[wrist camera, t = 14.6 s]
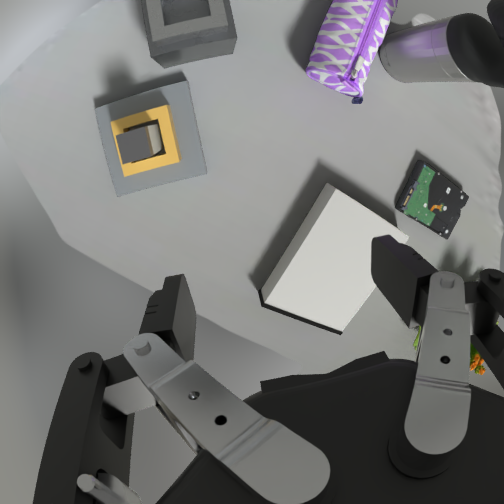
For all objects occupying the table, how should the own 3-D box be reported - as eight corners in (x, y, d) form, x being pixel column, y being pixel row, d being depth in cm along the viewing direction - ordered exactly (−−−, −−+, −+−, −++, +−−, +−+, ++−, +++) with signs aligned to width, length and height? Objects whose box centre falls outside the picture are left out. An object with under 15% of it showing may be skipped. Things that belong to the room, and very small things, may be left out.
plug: (158, 123, 39) (144, 126, 31) (163, 147, 41) (151, 156, 33) (134, 130, 39) (115, 135, 31) (140, 154, 41) (122, 164, 33)
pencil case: (348, 105, 43) (376, 105, 34) (294, 81, 40) (313, 74, 32) (384, 0, 34) (414, -14, 26) (336, -26, 32) (359, -47, 24)
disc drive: (257, 291, 56) (261, 307, 51) (324, 180, 48) (335, 188, 44) (332, 320, 61) (340, 335, 56) (397, 227, 53) (411, 238, 49)
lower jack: (188, 81, 39) (184, 78, 34) (207, 171, 45) (206, 178, 40) (99, 108, 38) (86, 108, 34) (120, 193, 45) (111, 202, 40)
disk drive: (461, 191, 52) (416, 158, 48) (469, 195, 49) (425, 161, 45) (440, 235, 55) (392, 208, 51) (448, 240, 53) (400, 213, 49)
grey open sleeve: (221, -3, 33) (223, -40, 22) (232, 53, 38) (239, 31, 26) (154, 11, 33) (133, -20, 21) (164, 68, 37) (145, 52, 26)
